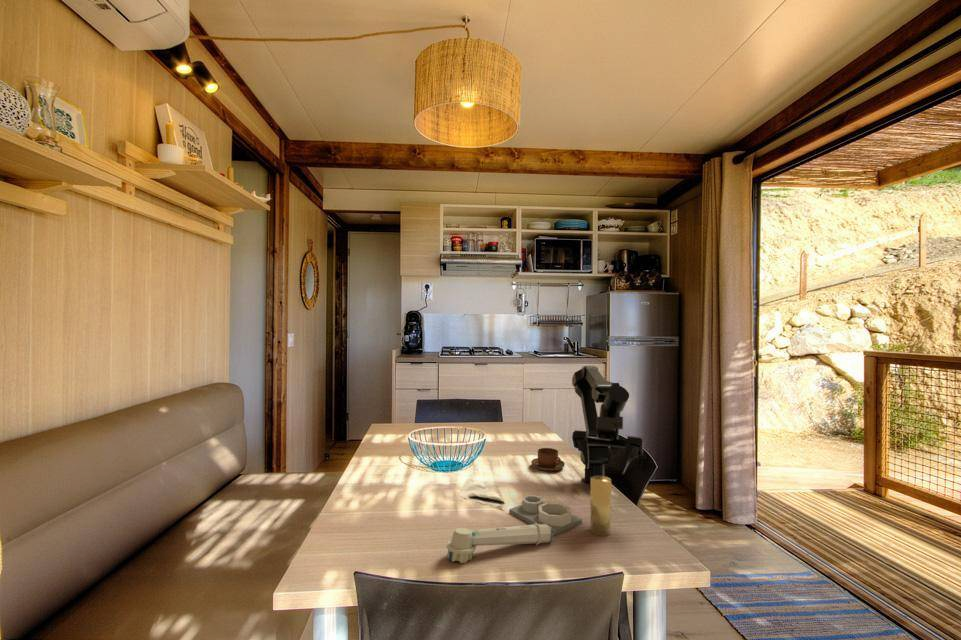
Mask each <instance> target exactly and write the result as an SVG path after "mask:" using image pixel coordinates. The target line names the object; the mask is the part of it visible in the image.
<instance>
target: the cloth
mask: <svg viewBox="0 0 961 640" xmlns="http://www.w3.org/2000/svg"><path fill="white" fill-rule="evenodd" d="M460 490H461V491H460ZM460 490H459V491H460V492H459V494H458V497H459V496H460V498H463V499H465V500H467V501H471V502H475V503H477V504H480V505H485V506H489V507H492V508H495V509H500V510H502V511H505V509H504V508H503V506H502V504H500V503H501V502H503V503H504V504H505V503H506V502H505V501H504V500H503V499H502V498H501V497H500V495H499V494H498V493H497V492H495V491H492V490H491V489H490V488H488V487H486V486H485V484H484V483H482V481H479V480H473V481H471V480H470V479H468V478H467V479H466V480H465V481H464V483H463V485H462V487H461V488H460ZM482 499H484V500H482ZM485 500H491V501H496V502H491V501H485ZM497 501H498V502H497ZM499 502H500V503H499Z"/></svg>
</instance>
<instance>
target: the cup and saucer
mask: <svg viewBox="0 0 961 640" xmlns="http://www.w3.org/2000/svg"><path fill="white" fill-rule="evenodd" d="M530 463H531V465H532V466H533V467H534V468H536V469H538V470H541V471H548V472H551V471H553V472H554V471H559V470H561V469H563V468H564V467H565V461H563V460H562V459H561V458H560V457H559V450H558V449H556V448H551V447H541V448H538V449H537V457H536V458H532V460H531V461H530Z"/></svg>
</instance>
